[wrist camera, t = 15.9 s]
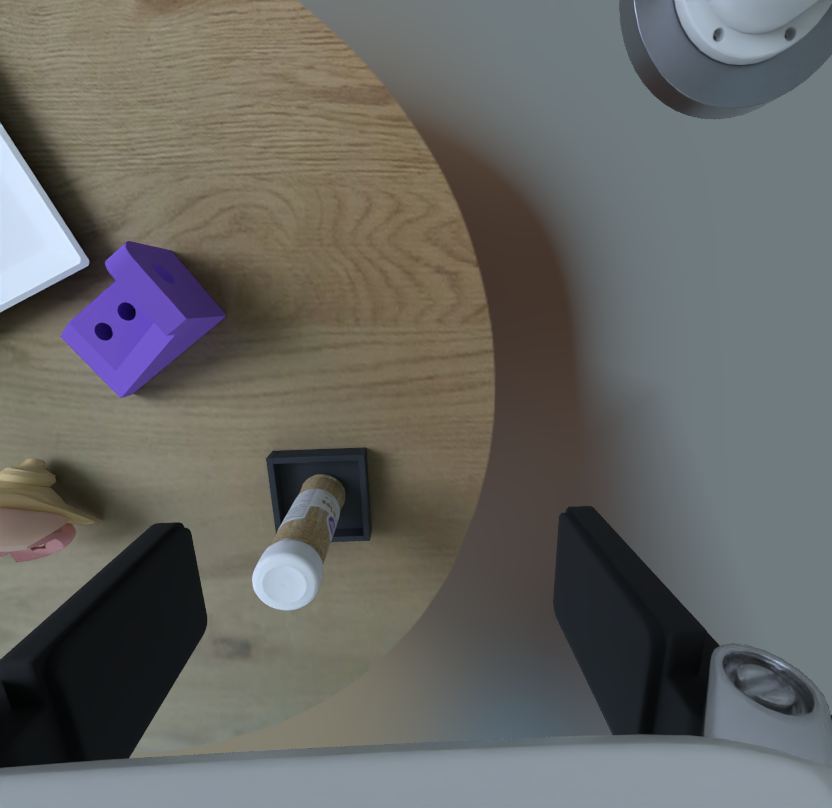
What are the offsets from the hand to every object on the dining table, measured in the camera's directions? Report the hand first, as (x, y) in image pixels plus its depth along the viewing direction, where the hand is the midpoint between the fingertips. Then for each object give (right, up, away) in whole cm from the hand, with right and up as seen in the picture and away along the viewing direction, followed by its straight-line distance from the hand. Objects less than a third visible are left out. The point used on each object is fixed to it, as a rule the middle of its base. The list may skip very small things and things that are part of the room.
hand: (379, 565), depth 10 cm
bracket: (-23, +11, +26) cm, 36 cm away
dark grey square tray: (-8, -5, +30) cm, 32 cm away
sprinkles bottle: (-8, -5, +30) cm, 32 cm away
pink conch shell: (-34, -6, +30) cm, 46 cm away
